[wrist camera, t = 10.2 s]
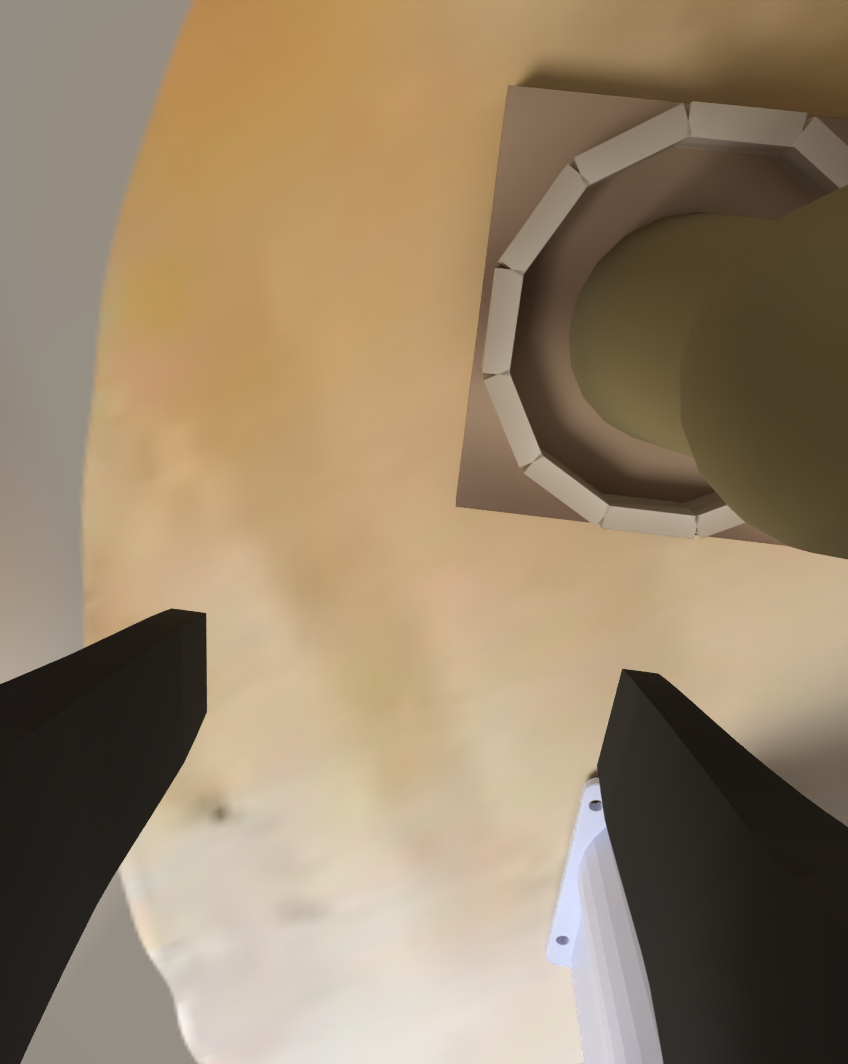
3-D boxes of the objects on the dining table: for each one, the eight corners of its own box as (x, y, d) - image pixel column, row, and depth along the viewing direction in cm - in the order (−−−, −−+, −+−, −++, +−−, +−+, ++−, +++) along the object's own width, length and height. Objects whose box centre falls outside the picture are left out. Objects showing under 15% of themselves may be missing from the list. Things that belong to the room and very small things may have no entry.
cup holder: (803, 537, 21) (839, 565, 19) (456, 497, 21) (454, 519, 19) (934, 139, 17) (999, 118, 15) (506, 95, 17) (511, 70, 15)
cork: (819, 212, 17) (1384, 91, 6) (772, 446, 19) (1137, 639, 8) (579, 210, 17) (744, 93, 7) (559, 440, 19) (661, 618, 9)
